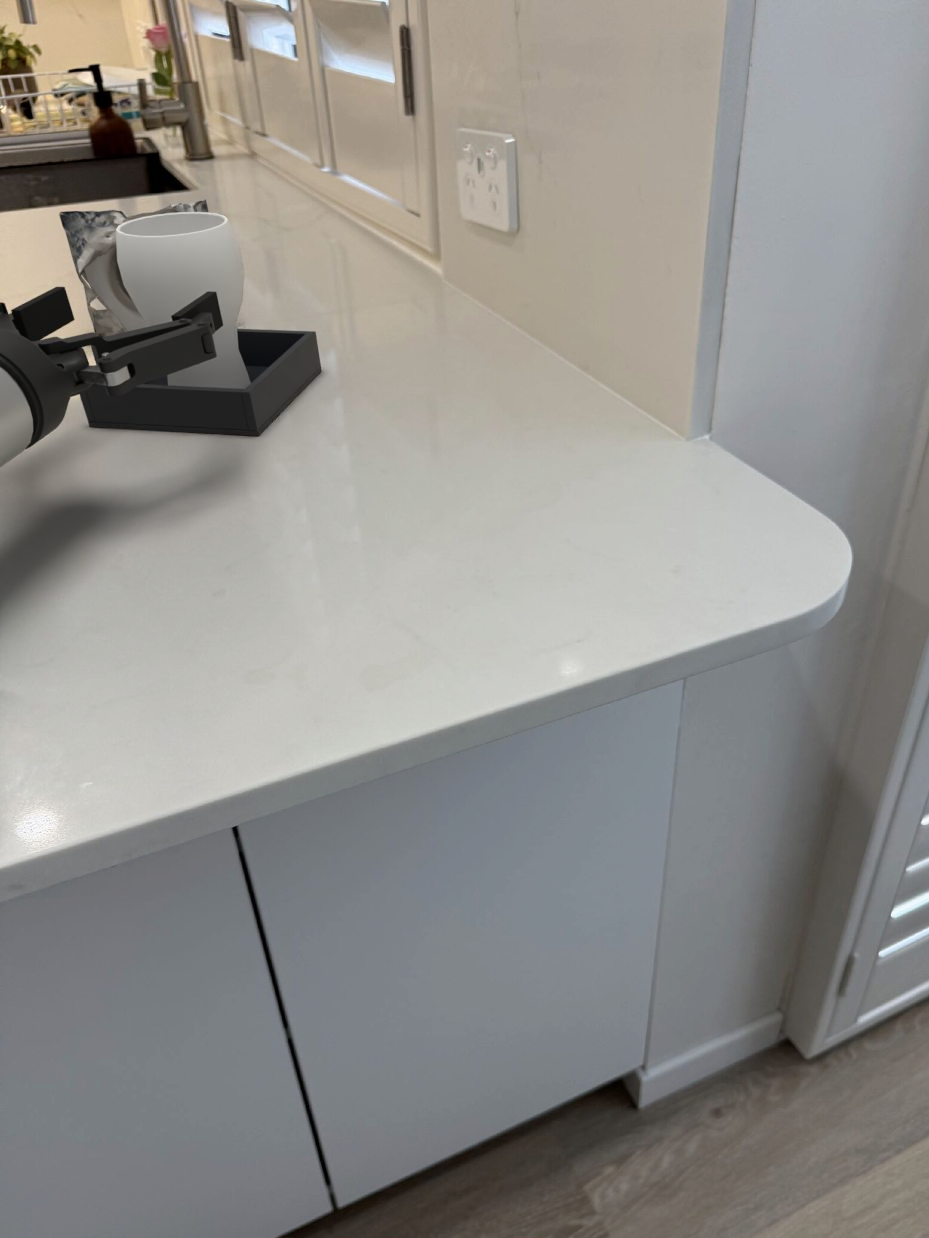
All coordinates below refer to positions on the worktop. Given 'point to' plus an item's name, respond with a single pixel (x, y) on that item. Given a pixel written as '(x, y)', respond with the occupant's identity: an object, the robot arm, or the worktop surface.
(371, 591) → the worktop surface
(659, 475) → the worktop surface
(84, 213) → the meal
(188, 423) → the tray
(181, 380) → the cup
